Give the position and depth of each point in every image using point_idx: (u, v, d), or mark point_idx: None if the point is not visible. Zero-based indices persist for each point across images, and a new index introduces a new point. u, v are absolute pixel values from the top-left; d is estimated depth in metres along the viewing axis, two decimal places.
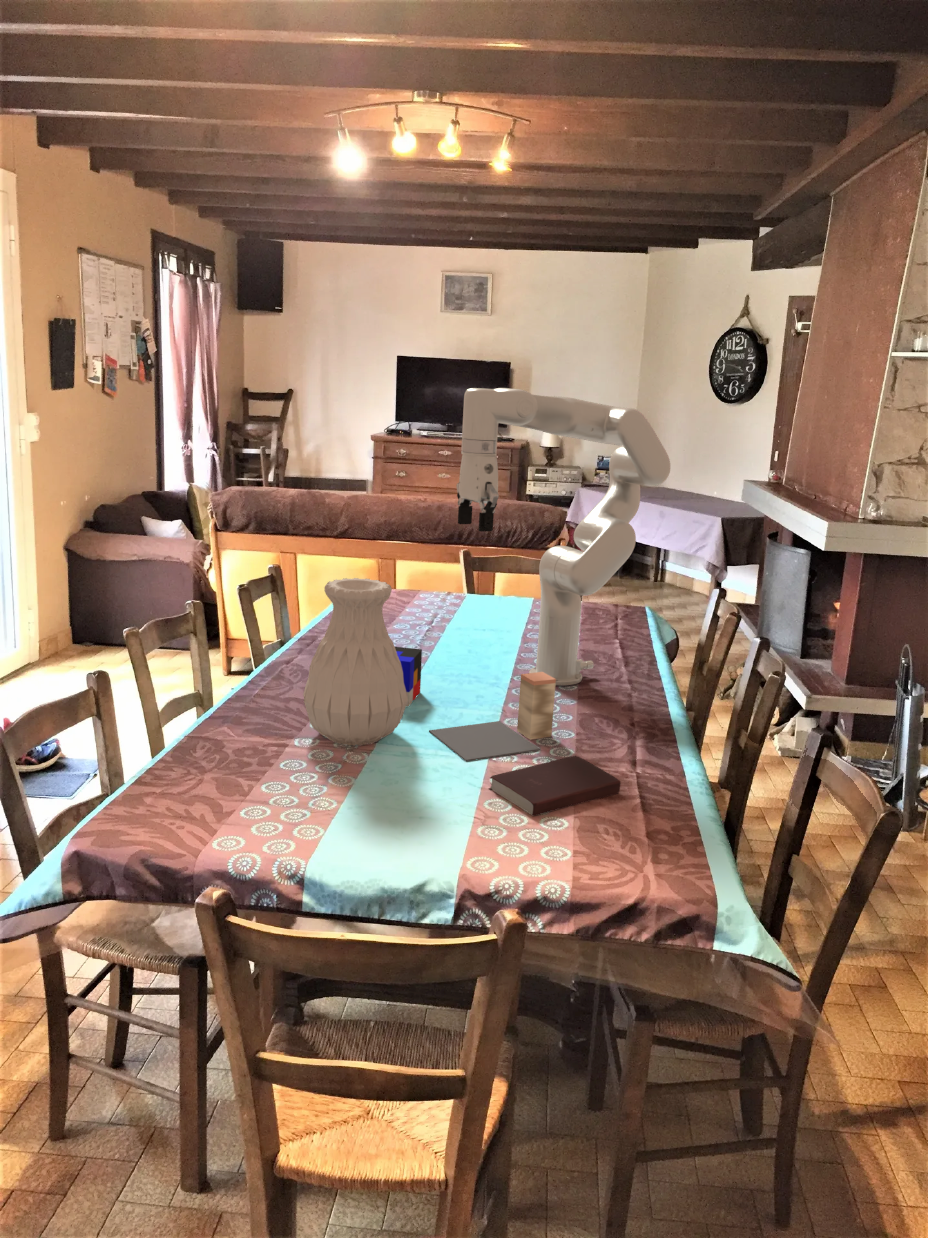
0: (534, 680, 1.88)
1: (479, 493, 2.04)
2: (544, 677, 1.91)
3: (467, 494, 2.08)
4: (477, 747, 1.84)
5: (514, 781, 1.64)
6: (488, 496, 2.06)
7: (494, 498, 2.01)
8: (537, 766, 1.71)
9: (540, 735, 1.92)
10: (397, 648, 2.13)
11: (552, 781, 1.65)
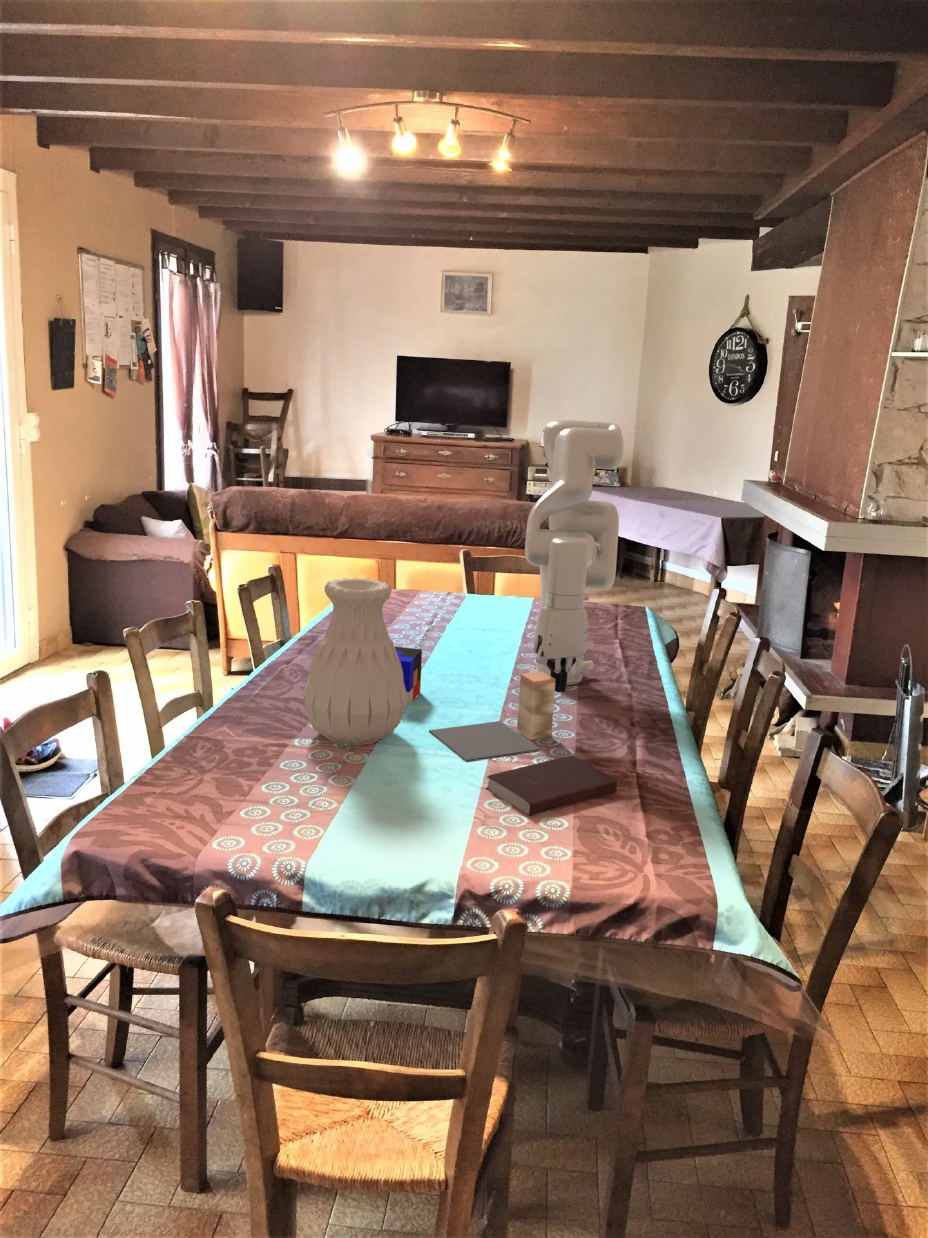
0: (534, 680, 1.88)
1: (586, 646, 1.92)
2: (544, 677, 1.90)
3: (566, 652, 1.90)
4: (477, 747, 1.84)
5: (511, 780, 1.64)
6: None
7: None
8: (534, 766, 1.71)
9: (540, 735, 1.92)
10: (397, 648, 2.13)
11: (549, 780, 1.65)
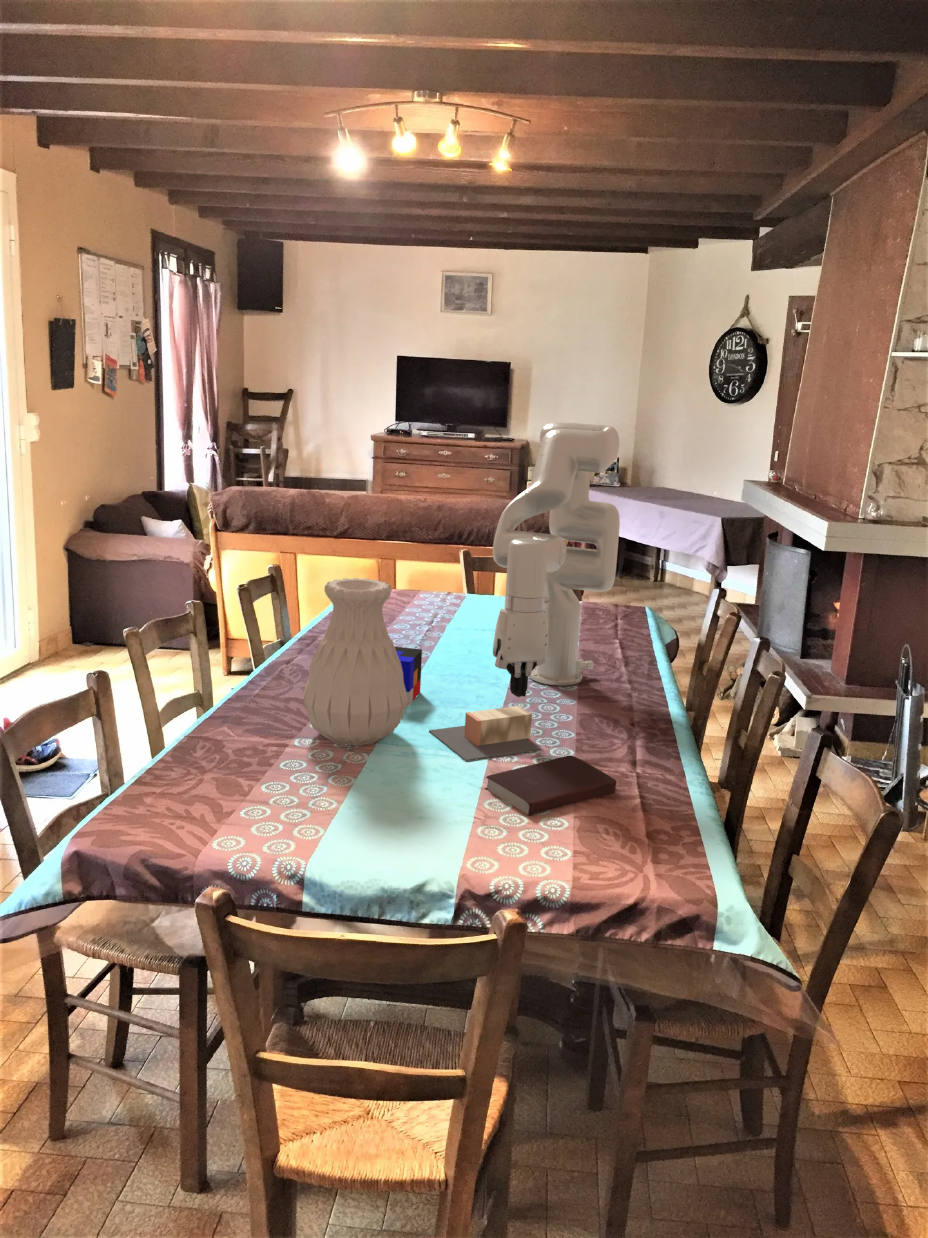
0: (474, 742, 1.85)
1: (547, 649, 1.88)
2: (473, 726, 1.86)
3: (526, 656, 1.86)
4: (477, 747, 1.84)
5: (510, 781, 1.64)
6: None
7: None
8: (533, 766, 1.71)
9: (528, 726, 1.90)
10: (397, 648, 2.13)
11: (548, 780, 1.65)
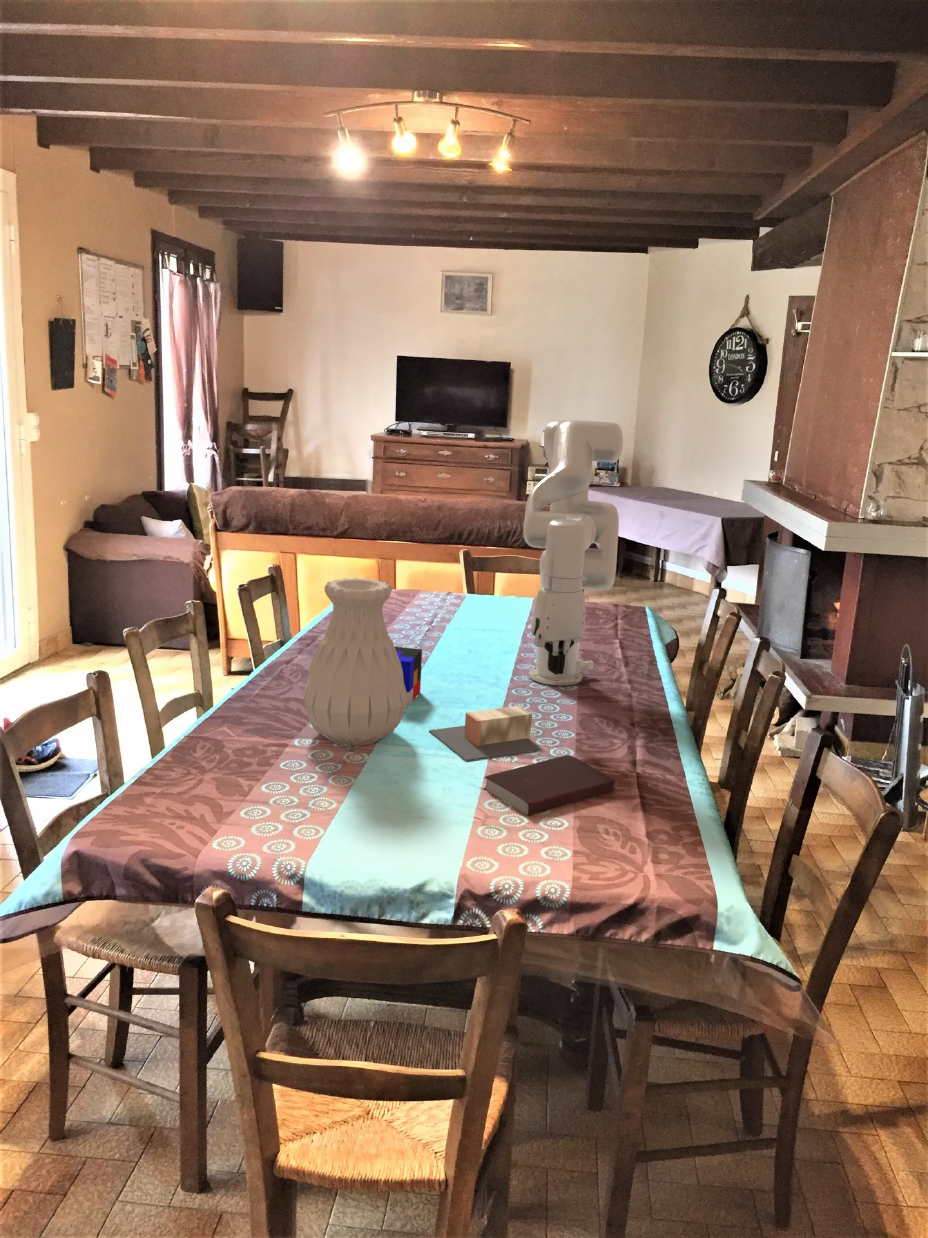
0: (474, 742, 1.85)
1: (584, 628, 1.92)
2: (473, 726, 1.86)
3: (564, 635, 1.89)
4: (477, 747, 1.84)
5: (509, 781, 1.64)
6: None
7: None
8: (531, 766, 1.71)
9: (528, 726, 1.90)
10: (397, 648, 2.13)
11: (546, 780, 1.65)
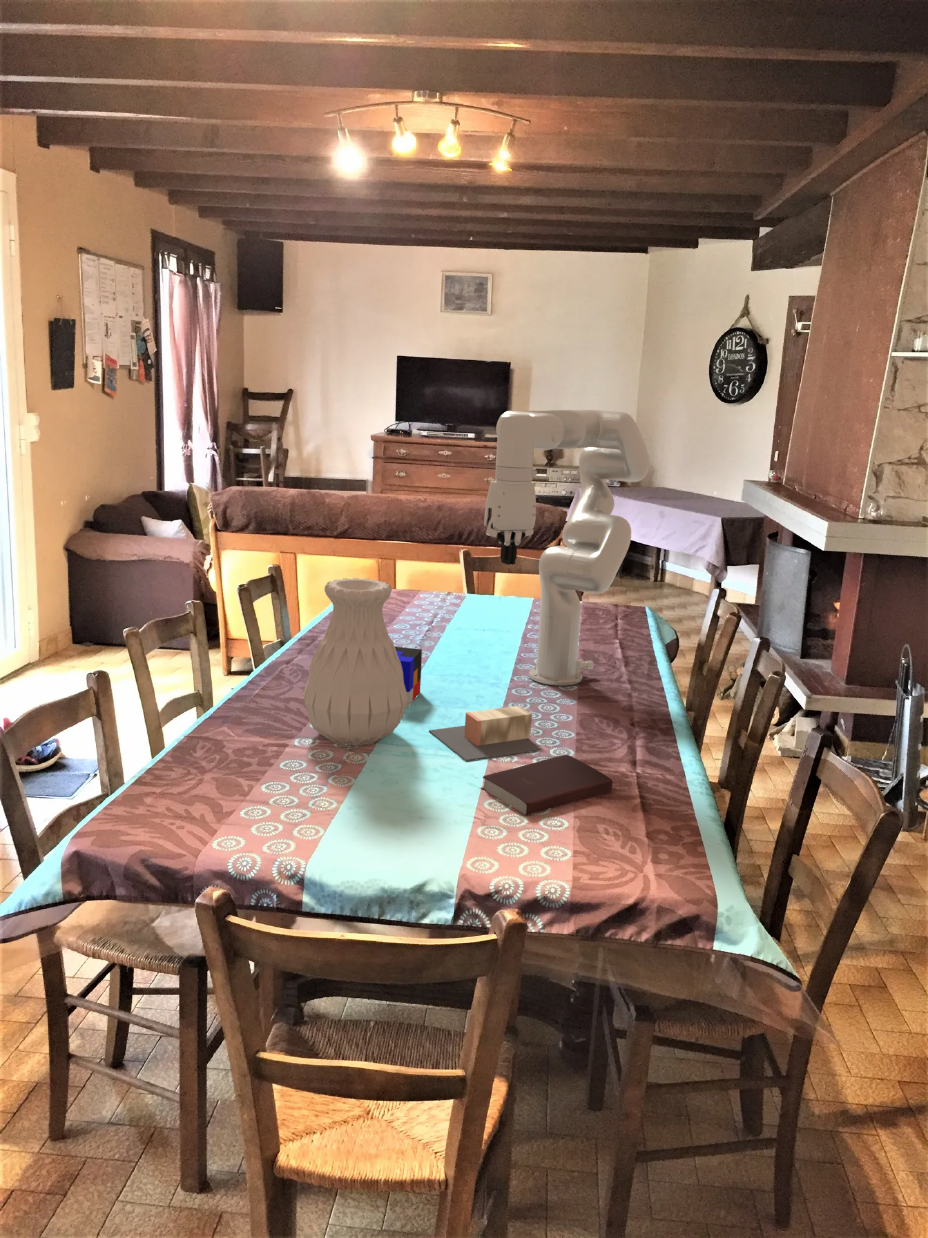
0: (474, 742, 1.85)
1: None
2: (473, 726, 1.86)
3: (515, 525, 1.99)
4: (477, 747, 1.84)
5: (507, 781, 1.64)
6: None
7: None
8: (529, 765, 1.71)
9: (528, 726, 1.90)
10: (397, 648, 2.13)
11: (544, 780, 1.65)
